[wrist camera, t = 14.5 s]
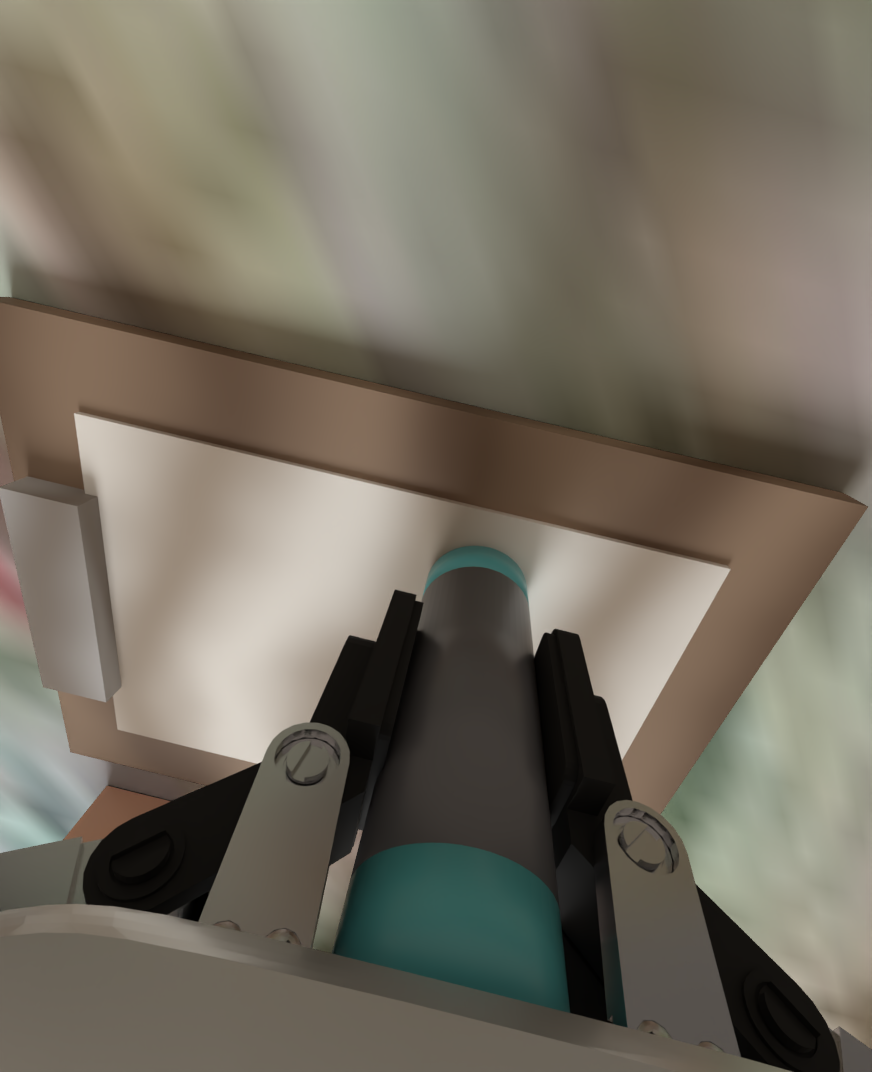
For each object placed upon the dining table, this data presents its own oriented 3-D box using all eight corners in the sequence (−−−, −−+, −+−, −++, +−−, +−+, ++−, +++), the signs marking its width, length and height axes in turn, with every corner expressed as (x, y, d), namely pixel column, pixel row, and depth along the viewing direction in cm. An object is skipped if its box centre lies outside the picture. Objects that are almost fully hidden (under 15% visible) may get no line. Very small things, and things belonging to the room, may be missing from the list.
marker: (540, 559, 14) (620, 1051, 5) (511, 641, 15) (530, 1141, 6) (437, 534, 14) (324, 975, 5) (417, 618, 15) (299, 1083, 6)
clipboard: (842, 493, 13) (897, 522, 12) (607, 861, 21) (617, 911, 20) (10, 297, 14) (-64, 296, 12) (88, 733, 22) (51, 772, 20)
